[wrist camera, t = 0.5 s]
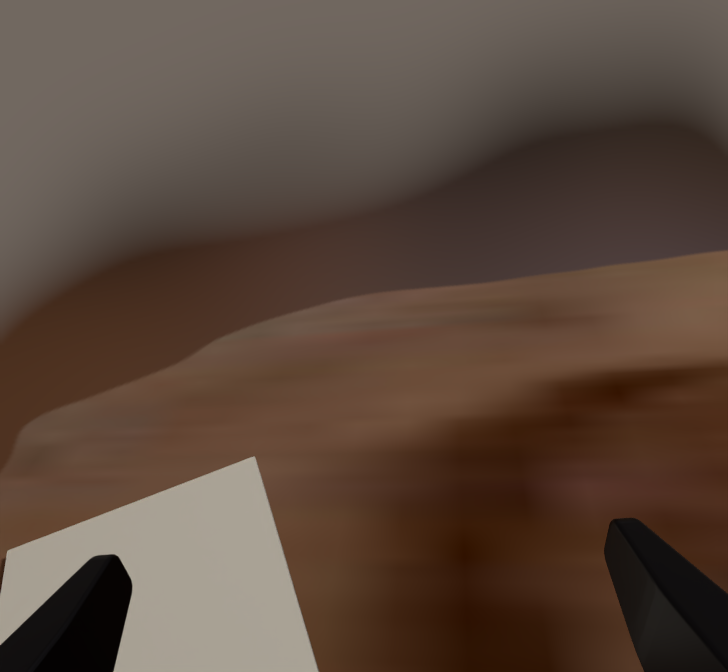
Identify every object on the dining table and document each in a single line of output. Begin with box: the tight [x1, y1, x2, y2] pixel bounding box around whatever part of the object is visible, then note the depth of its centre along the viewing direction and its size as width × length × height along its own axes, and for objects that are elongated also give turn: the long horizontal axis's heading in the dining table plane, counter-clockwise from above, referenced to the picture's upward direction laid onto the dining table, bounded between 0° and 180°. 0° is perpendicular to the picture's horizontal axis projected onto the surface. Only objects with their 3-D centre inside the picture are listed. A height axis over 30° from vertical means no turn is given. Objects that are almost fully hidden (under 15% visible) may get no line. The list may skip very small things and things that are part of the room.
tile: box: [0, 456, 319, 672], centre depth 24 cm, size 14×14×1 cm
